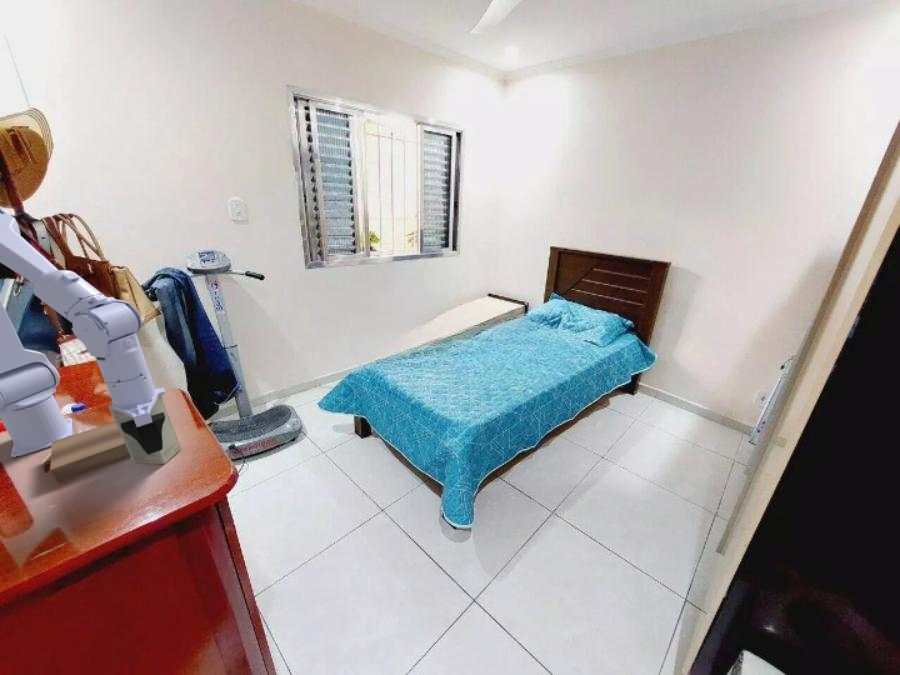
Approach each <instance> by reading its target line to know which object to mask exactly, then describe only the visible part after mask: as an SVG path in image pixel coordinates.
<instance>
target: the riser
mask: <svg viewBox="0 0 900 675" xmlns="http://www.w3.org/2000/svg"><path fill="white" fill-rule="evenodd" d="M50 451H51V453H50V468H49V469H50V470H49V471H50V472H51V474H52V476H53V478H54V480H55V482H56V484H57V485H59V484H62V483H65V482H67V481H69V480H72V479H75V478H79V477H81V476H84V475H86V474H89V473H91V472H94V471H97V470H100V469H102V468H104V467H107V466H110V465H113V464H116V463H118V462H122V461H124V460H126V459H129V458H131V456H130V454H129V451H128V449H127V447H126V445H125V442H124V440H123V438H122V436H121V434H120V431H119V429H118V427H117V425H116V423H115V421H114V422H110V423H107V424H104V425H100V426H98V427H95V428H91V429H89V430H84V431H82V432H79V433H75V434H73V435H72V436H68V437H65V438H62V439H59V440H56V441H52V446H51V450H50Z"/></svg>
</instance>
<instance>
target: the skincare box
mask: <svg viewBox="0 0 900 675" xmlns="http://www.w3.org/2000/svg"><path fill="white" fill-rule="evenodd" d="M157 398H158V399H157V400H156V402H155V404H154V406H153V407H152V409H151V411H150V415H151V416H152V415H155V414H159V413H162V412H164V414H165V421H164V423H163V427H162V440H163V449H162V450H160V451H157V452H155V453H152V454H149V455H148V454H147V453H146V452H145V451H144V450H143V448H142V447H141V446H140V444H139V443H138V442H137V441H136V440H135V439H134V438H133V437H132V436H130V435H128V434H126V433H125V432H124V431H123V430H122V428H121V423H124V422H127V421H130V420H133V418H132V417H130V416H128V415H126V414H124V413H122V412H119V411H117V410H115V409H114V408H113V405H112V404H110V405H109V406H108V409H109V412H110V413H111V416H112V418H113V419H114V420H113V421H114V422H115V423H116V425H117V427H118V429H119V431H120V434H121V436H122V438H123V440H124V442H125V445H126V447H127V449H128V451H129V454H130V456H131V457H130V458H131V460H132V462H133V463H135V464H155V465H156V464H157V465H158V464H159V465H160V464H161V465H162V464H166V463H167V462H168V461H169V460H171V459H172V458H173V456H175V455H176V454H177V453H178V452H179V451H181V449H182V447H181V443H180V441H179V438H178V436H177V434H176V431H175V428H174V425H173V423H172V422H173V421H172V419H171V417H170V415H169V412H168V410H167V408H166V405H165V401H164V399H163V395H162V396H158V397H157Z"/></svg>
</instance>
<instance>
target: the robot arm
mask: <svg viewBox="0 0 900 675" xmlns="http://www.w3.org/2000/svg"><path fill="white" fill-rule="evenodd" d="M0 263H1V264H2V265H4V266H6V268H9V269H10V270H12V271H13V272H15V273H16V274H18V275H20V276H21V277H23V278H24V279H26V280H27V281H29V282H30V283H32V284H33V285H34V286H33V290H32V291H33V294H34V295H35V296H36V297H37V298H38V299H40V300H41V301H42V302H44V303H45V304H46V305H48V306H49V307H50V308H51V309H53V310H54V311H56V312H57V313H58V314H59V315H61V316H62V317H64V319H66V320H67V321H69V322H70V323H72V327H71V331H72V332H73V334H74V336H76V338H77V339H78V340H79V341H80V342H81V343H82V344H83V346H84V347H85V348H86V352H87V353H88V354H89V355H90V356H91V357H94V358H95V361H96V364H97V366H98V368H99V371H100V373H101V376H102V378H103V381H104V384H105V386H106V388H107V391H108V394H109V396H110V398H111V401H112V402H111V405H113V408H114V409H115V410H117V411H119V412H122V413H124V414H126V415H128V416H130V417H132V418H133V420H130V421H127V422H124V423H121V428H122V430H123V431H124V432H125V433H126V434H128V435H130V436H132V437H133V438H134V439H135V440H136V441H137V442H138V443H139V444H140V446H141V447H142V448H143V450H144V451H145V452H146V453H147V454H148V455H149V454H152V453H155V452H157V451H160V450H162V449H163V440H162V427H163V423H164V421H165V414H164V412H162V413H159V414H155V415H152V416H151V415H150V411H151V409H152V407H153V406H154V404H155V402H156V400H157V399H158V398H157V397H158V396H162V397H163V396H164V395H166V391H165V388H164V387H159V388H156V387H155V384H154V382H153V378H152V375H151V373H150V370H149V367H148V364H147V362H146V358H145V355H144V352H143V349H142V347H141V344H140V340H139V338H138V335H137V333H139V332H140V330H142V328H143V320H142V317H141V315H140V312H139V311H138V310H137V309H136V308H135V307H134V306H133V305H132V304H131V303H130V302H128V301H127V300H123V299H116V298H115V297H114V296H109V297H108V296H106V295H105V294H103V293H102V292H101V291H100V290H98V289H97V288H96V287H95V286H93V285H92V284H90V283H89V282H88V281H86V280H85V279H84V278H83V277H81V276H80V275H78V274H77V273H76V272H74V271H73V270H72V271H71V270H67V269H66V270H65V269H61V270H59V269H58V268H57V267H56V266H55V265H54V264H52V263H51V262H50V261H49V260H48V259H47V258H46V257H45V256H44V255H43V254H41V253H40V252H39V251H38V250H37V249H36V248H35V247H33V245H32V244H30V243H29V242H28V241H27V239H25V238H24V237H23V236H21V230H20V227H19V224H18V221H17V220H16V218H15V217H14V216H12V215H11V214H10V213H9V212H8V211H7V210H6V209H5V208H4V207H2V206H1V205H0ZM20 339H21V338H19V336H18V333H17V331H16V329H15V327H14V325H13V323H12V321H11V319H10V317H9V315H8V313H7V311H6V309H5V307H4V303H2V300H1V299H0V420H1V423H2V424H3V426H4V428H5V430H6V431H7V433H8V435H9V437H10V439H11V441H12V443H13V444H12V449H11V454H10V458H12V457H15V458H17V457H16V456H18V457H21V456H24V455H28V454H31V453H34V452H38V451H40V450H43V449H46V448H50V447H52V441H56V440H59V439H62V438H65V437H68V436H72V435H74V434H73V431H74V430H73V418H71V417H69V418H65V417H64V415H63V413H62V411H61V409H60V407H59V404H58V402H57V400H56V398H55V396H54V394H55V393H57V392H58V391H57V389H56V387H57V386H59V385H60V381H61V379H60V378H61V376H60V373H59V371H58V370H57V368H56V367H55V365H53V364H52V363H51V362H50V361H49V359H48V356H46V354H45V353H42V352H41V351H37V350H31V349H26V348H24V346H23V344H22V342H21V340H20Z"/></svg>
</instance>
